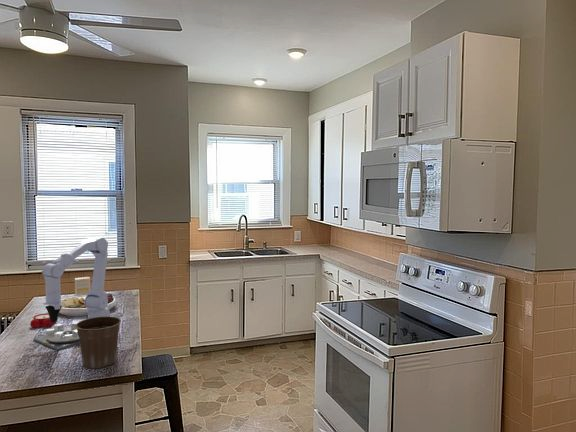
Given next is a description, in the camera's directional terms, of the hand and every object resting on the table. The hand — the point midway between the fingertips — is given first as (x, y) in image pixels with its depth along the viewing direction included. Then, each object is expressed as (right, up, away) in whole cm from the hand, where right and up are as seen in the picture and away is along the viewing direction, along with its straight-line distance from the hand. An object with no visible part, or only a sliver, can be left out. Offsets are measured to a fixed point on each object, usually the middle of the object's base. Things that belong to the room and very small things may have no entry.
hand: (53, 322), depth 191 cm
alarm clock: (-19, -8, +25) cm, 32 cm away
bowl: (-10, -6, +52) cm, 54 cm away
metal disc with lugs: (+3, -8, +6) cm, 10 cm away
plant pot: (+28, -11, -20) cm, 36 cm away
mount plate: (+3, -9, +6) cm, 11 cm away
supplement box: (-22, -4, +74) cm, 77 cm away
